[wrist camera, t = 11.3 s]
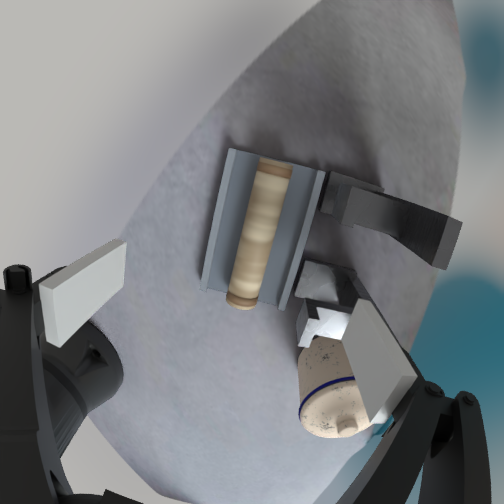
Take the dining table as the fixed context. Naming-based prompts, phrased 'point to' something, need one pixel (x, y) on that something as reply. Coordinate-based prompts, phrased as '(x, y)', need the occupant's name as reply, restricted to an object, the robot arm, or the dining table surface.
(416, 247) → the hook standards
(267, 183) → the wooden cylinder
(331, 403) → the teacup with lid
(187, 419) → the dining table surface
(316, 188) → the tray
